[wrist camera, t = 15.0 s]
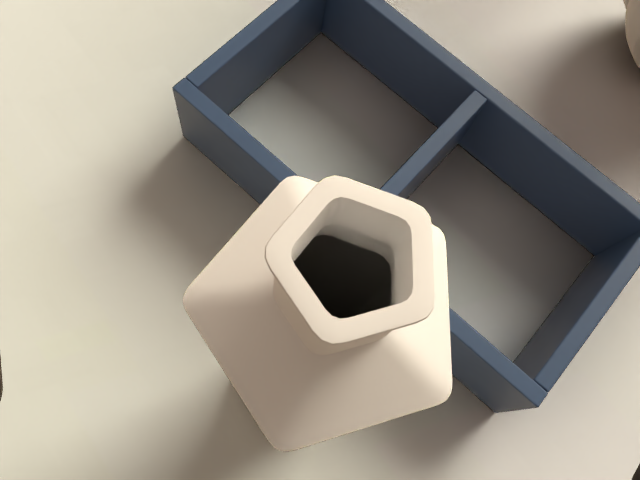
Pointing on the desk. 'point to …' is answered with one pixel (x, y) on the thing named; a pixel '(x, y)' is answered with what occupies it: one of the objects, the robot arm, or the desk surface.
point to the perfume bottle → (329, 310)
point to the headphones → (633, 28)
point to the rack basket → (433, 166)
